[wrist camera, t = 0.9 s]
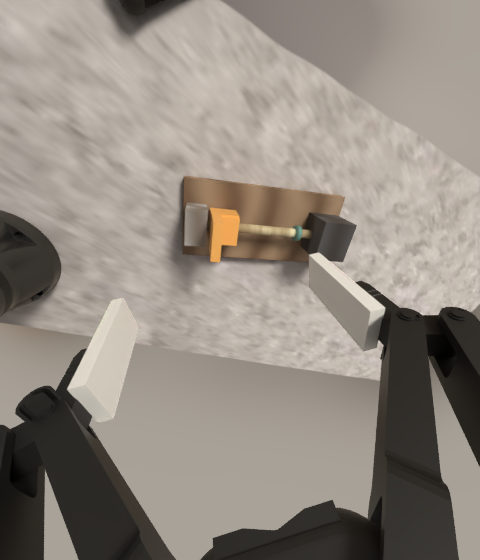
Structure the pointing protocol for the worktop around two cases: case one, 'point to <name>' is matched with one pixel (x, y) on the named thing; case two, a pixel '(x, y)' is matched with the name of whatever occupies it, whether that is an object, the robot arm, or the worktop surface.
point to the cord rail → (266, 221)
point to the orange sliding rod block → (222, 231)
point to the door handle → (138, 5)
